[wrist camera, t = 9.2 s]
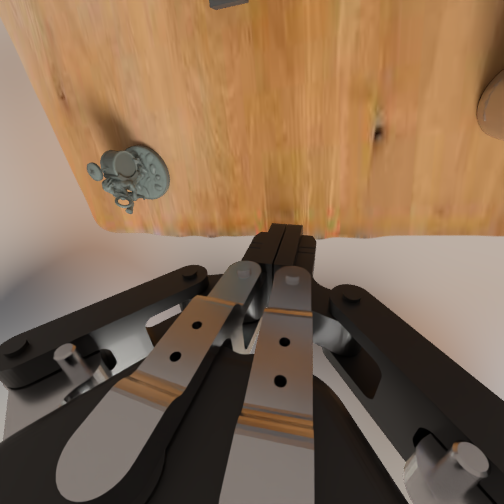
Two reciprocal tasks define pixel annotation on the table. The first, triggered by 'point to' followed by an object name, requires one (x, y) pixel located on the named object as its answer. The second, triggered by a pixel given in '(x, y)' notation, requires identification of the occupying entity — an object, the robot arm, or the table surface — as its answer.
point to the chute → (225, 3)
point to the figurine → (132, 174)
